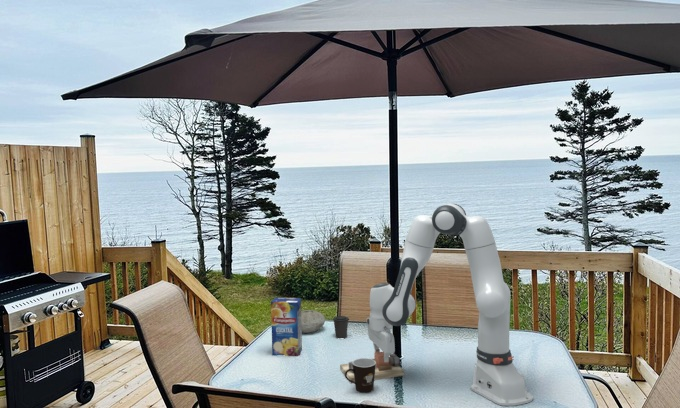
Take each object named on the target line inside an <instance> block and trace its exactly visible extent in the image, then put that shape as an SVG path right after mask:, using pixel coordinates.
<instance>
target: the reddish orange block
mask: <svg viewBox="0 0 680 408" xmlns="http://www.w3.org/2000/svg"><path fill="white" fill-rule="evenodd" d="M373 354H374V358H373V359H375V362H376V367H377V368H378V366H382V365H389V362H384V361H383V357H384V352H383V351H380V352H376V353H375V352H374V353H373Z"/></svg>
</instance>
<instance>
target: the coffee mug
mask: <svg viewBox="0 0 680 408" xmlns="http://www.w3.org/2000/svg"><path fill="white" fill-rule="evenodd" d="M372 359H373V358H367V357H364V358H362V357H361V358H356V359H354V360H352V361H353V369H348V370H347V371H346V372H345V375H344V377H345V379H346V380H347V381H348V382H349V383H350V382H352V383H351V384H355V385H354V386H355V390H356V391H357V393H358V392H359V393H363V394H369V393H371V392H373V391H374V384H375V380H374V376H375V367H376V362H375V361H374V360H372ZM348 371H353V372H354V378H355V382H354V381H351V380H349V379H348V378H347V372H348Z"/></svg>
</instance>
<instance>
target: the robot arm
mask: <svg viewBox="0 0 680 408" xmlns="http://www.w3.org/2000/svg"><path fill="white" fill-rule="evenodd" d="M440 234H443V235H451V236H459V237H460V238H461V240H462V242H463V246H464V251H465V255H466V258H467V262H468V265H469V269H470V276H471V282H472V289H473V294H474V300H475V305H476V307H477V309H478V324H477V346H476V358H477V359H476V363H475V365H474V368H473V379H472V381H473V382H472V384H471V386H470V388H469V389H470V390H471V391H472V392H475V393H476V394H478V395H480V396H482V397H484V398H485V399H487V400H489V401H491V402H493V403H495V404H497V405H499V406H504V407H506V406H507V407H511V406H521V405H525V404H528V403H531V402H532V401H534V396H533V395H532V394H531V393H530V392H528V391H527V389H526V381H525V377H524V374H522V373H520V372H519V370H518V368H517V367H516V365H515V364H514V363H513V361H514V360H515V359H514V356H512V353H511V348H510V325H511V323H510V321H511V290H510V287H509V286H508V284H507V283H506V282H505V280H504V275H503V270H502V264H501V259H500V256H499V252H498V248H497V245H496V240H495V236H494V234H493V231H492V228H491V226H490V225H489V223H488V221H487V219H486V218H485V217H483V216H481V215H472V216H468V215H467V213H466V211H465V209H464V208H463V207H462V206H461V205H460V204H457V203H444V204H442V205H440V206H438V207H437V208H436V209H434V211H433V213H432V215H427V214H420V215H419V214H418V215H417V216H415V217H414V219H413V220H412V222H411V224H410V226H409V229H408V232H407V234H406V238H405V241H404V246H403V251H402V257H401V262H400V267H399V272H398V275H397V278H396V281H395V285H394V287H393V286H392V285H391V284H390V283H389V282H382V283H377V284H374V285H373V286H372V287H371V289H370V293H369V307H370V313H369V317H367V318H366V324H367V333H368V334H367V335H368V339H369V340H370V341H371V342H372V344H373V349H374V353H376V352H384V357H383V361H384V362H389V357H390V354H395V352H396V348H395V347H396V346H395V345H396V344H395V343H396V342H395V337H394V334H393V332H391V330H392V328H393V326H395V327H401V326H403V325H405V324H406V323H407V321H408V319H409V318H410V317H411V315H412V314H413V312H414V311H415V310H416V305H417V304H416V299H415V297H414V296H413V295H412V294H411V293H412V290H413V286H414V282H415V281H416V278H417V277H418V275H419V274H420V272H422V270H423V269H424V267H426V265H427V264H428V262H429V261H430V258H431V256H432V254H433V251H434V248H435V245H436V241H437V238H438V236H439V235H440Z"/></svg>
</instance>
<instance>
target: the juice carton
mask: <svg viewBox="0 0 680 408" xmlns="http://www.w3.org/2000/svg"><path fill="white" fill-rule="evenodd" d="M301 311H302V298H300V297H275V298H273V299H272V300H271V301H270V314H271V315H270V316H271V317H270V319H271V321H270V322H271V356H277V355H285V356H284V357H299V356H300V354H301V352H302V351H303V335H302V333H303V332H302V328H301Z"/></svg>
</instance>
